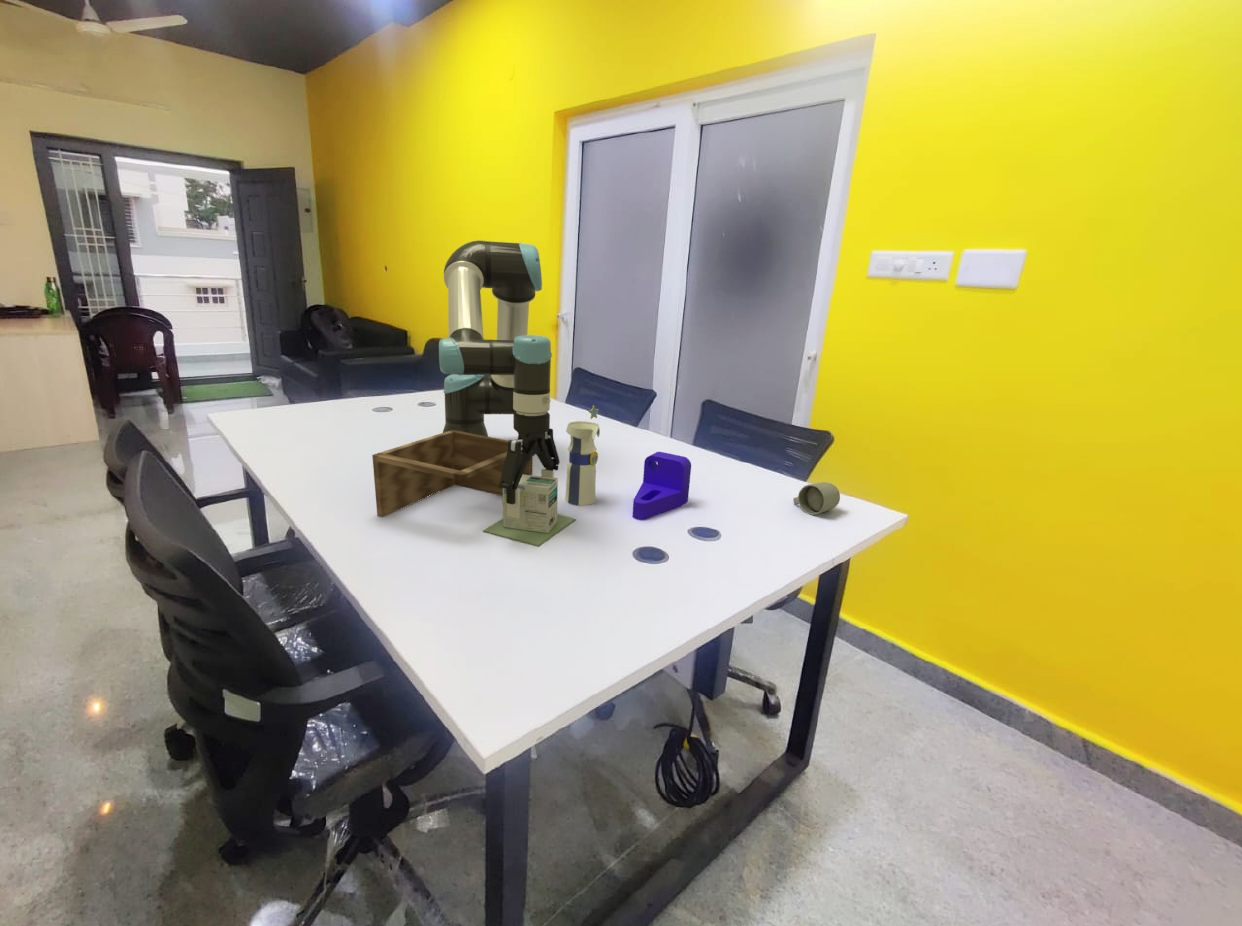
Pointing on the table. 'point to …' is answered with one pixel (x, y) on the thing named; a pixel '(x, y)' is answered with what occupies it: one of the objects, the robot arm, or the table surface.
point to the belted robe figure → (582, 462)
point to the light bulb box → (534, 504)
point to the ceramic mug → (818, 498)
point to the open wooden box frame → (438, 468)
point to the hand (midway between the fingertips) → (531, 506)
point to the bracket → (662, 485)
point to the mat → (529, 536)
